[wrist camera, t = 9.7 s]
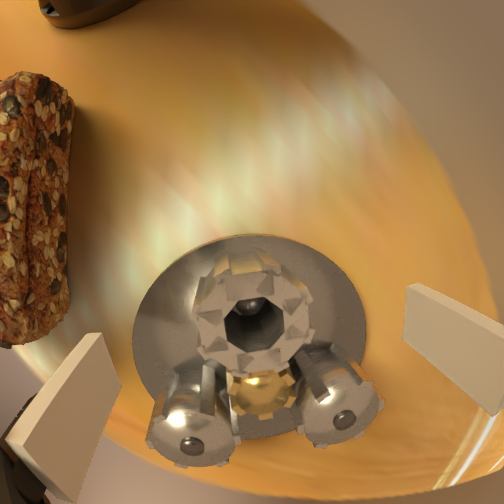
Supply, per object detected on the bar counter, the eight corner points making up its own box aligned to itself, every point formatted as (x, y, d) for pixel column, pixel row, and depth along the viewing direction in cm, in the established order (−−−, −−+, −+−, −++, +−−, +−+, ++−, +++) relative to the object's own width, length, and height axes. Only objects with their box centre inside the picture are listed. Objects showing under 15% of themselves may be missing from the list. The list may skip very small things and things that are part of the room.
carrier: (112, 252, 20) (64, 276, 13) (357, 220, 22) (415, 228, 14) (169, 438, 24) (161, 493, 16) (354, 408, 26) (384, 453, 18)
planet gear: (192, 254, 20) (181, 274, 14) (285, 241, 20) (311, 256, 15) (207, 339, 21) (204, 383, 15) (292, 326, 22) (316, 365, 16)
